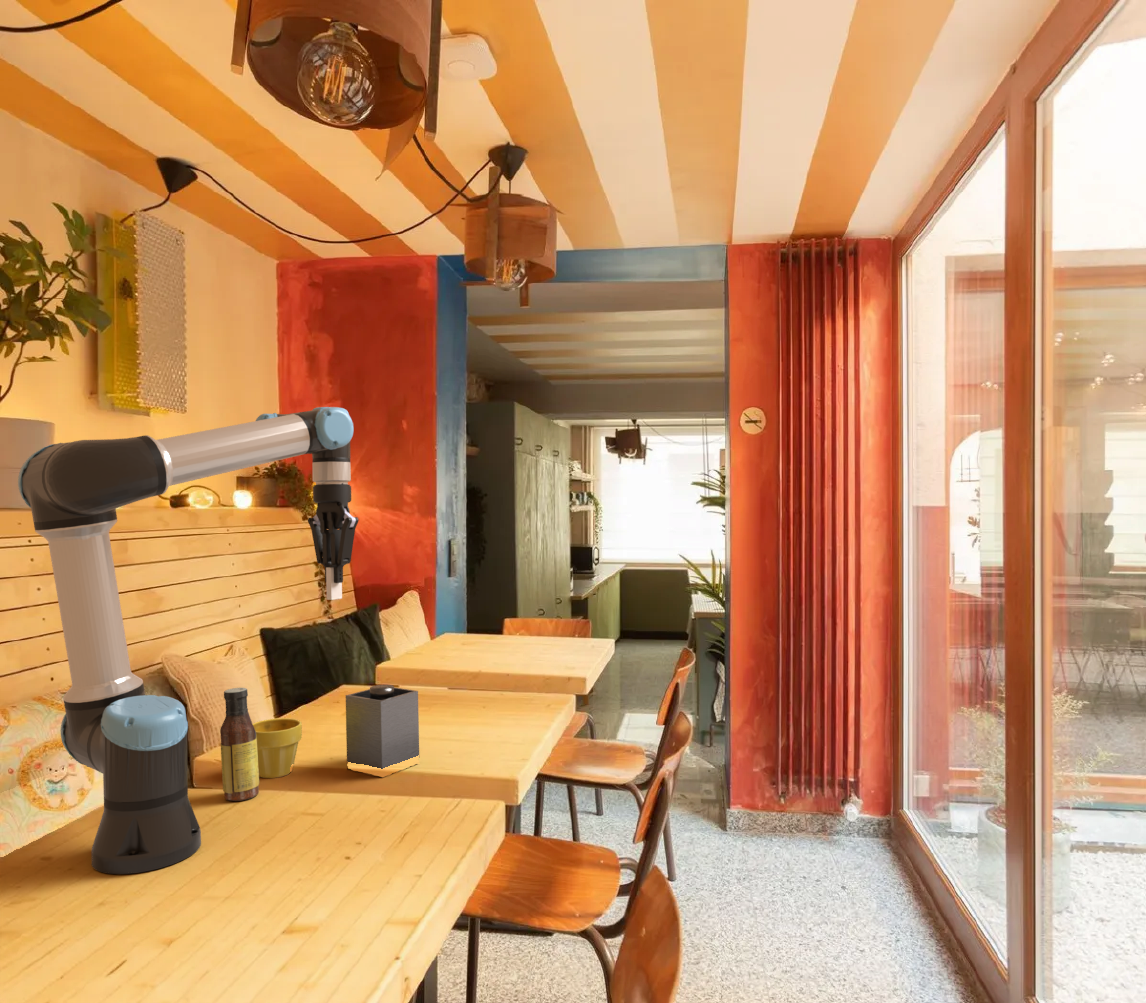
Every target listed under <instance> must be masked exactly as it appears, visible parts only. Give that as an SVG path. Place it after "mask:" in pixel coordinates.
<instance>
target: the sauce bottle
mask: <svg viewBox="0 0 1146 1003" xmlns="http://www.w3.org/2000/svg"><path fill="white" fill-rule="evenodd" d="M248 695H249V694H248V688H246V687H235V688H234V687H233V688H228V689H226V690H224V692H223V698H224V701H225V718H224V720H223V722H222V724H221V727H220V728H219V729H220V731H219V732H220V757H221V759H220V760H221V761H220V762H221V774H222V776H221V777H222V778H221V779H222V791H223V792H224V799H225V800H226V801H230V802H231V801H232V802H241V801H248V800H250V799H253V798H255V797H256V796H257V795H258V794H259V793H260V791H259V790H260V788H259V785H260V776H259V770H258V754H257V738H256V731H255V729H254V726H253V722H252V719H251V716H250V713H249V711H248V710H249V709H248Z"/></svg>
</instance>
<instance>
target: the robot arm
mask: <svg viewBox="0 0 1146 1003" xmlns="http://www.w3.org/2000/svg"><path fill="white" fill-rule="evenodd" d="M353 436H354V422H353V420H352V417H351V416H350V414H349V412H348V410H347V409H345V408H343V407H338V406H330V407H329V406H321V407H320V406H318V407H315V408H313V409H312V410H308V411H300V412H293V413H285V414H284V413H283V414H282V413H281V414H280V413H276V412H274V413H262V414H260V415H258V416H257V418H256V419H255V421H250V422H245V423H238V424H234V425H228V426H223V427H217V428H213V429H206V430H202V431H201V430H200V431H197V432H192V433H187V434H185V433H184V434H181V435H176V436H170V437H164V438H159V439H155V438H153V437H152V436H150V435H146V434H145V435H141V436H133V437H127V438H115V439H114V438H112V439H111V438H110V439H108V438H107V439H80V440H73V441H69V442H59V443H52V444H49V445H46V446H44V447H42V448H40V449H38V450H36V452H34V453H32V454H31V455H30V456H28V458H27V459H26V460H25V462H24V463H23V464H22V466H21V468H20V470H19V474H18V477H17V486H18V490H19V493H20V496H21V498H22V499H23V501H24V503H25V504H26V505H27V506H28V507H29V508H30V510H31V514H32V522H33V527H34V532H35V533H36V534H38V535H39V536H41V537H43V538H44V539H45V540H46V541H47V542H48V548H49V549H48V550H49V555H50V560H51V561H50V562H51V566H52V571H53V572H52V573H53V578H54V584H55V590H56V596H57V597H56V598H57V602H58V603H57V604H58V607H59V608H58V609H59V613H60V620H61V625H62V632H63V638H64V645H65V649H66V655H67V662H68V666H69V667H68V668H69V673H70V680H71V686H70V688H69V689H68V690H67V691H66V693H65V694H64V695H63V697H62V699H63V704H64V709H65V714H64V715H63V718H62V720H61V723H60V724H61V725H60V739H61V743H62V744H63V747H64V748H65V750H66V752H67V753H68V754H69V755H70V756H71V758H72V759H74V760H75V761H76V762H78V763H79V764H81V765H83V766H85V767H88V768H90V769H93V770H95V771H96V772H99V773H100V774H102V779H103V780H102V781H103V783H102V784H103V786H102V788H103V813H102V816H101V818H100V821H99V822H100V823H99V826H98V828H97V831H96V835H95V838H94V841H93V844H92V847H91V853H90V854H91V866H92V868H93V869H94V870H95V871H97V872H100V873H105V874H111V875H112V874H113V875H128V874H129V875H130V874H137V873H144V872H150V871H154V870H157V869H161V868H166V867H170V866H171V865H175V864H176V863H179V862H181V861H182V862H183V861H184V860H186V859H187V858H189V857H191V856H192V855H193V854H195V853H197V851H198V850H199V849H200V848H201V845H202V835H201V832H202V831H201V826H200V824H199V822H198V820H197V817H196V814H195V811H194V809H193V807H192V804H191V802H190V800H189V788H188V786H189V785H188V784H189V782H188V780H189V779H188V729H189V724H188V723H189V722H188V720H187V714H186V707H185V705H184V704H183V703H182V702H181V701H179V700H178V699H175V698H173V697H171V696H167V695H159V696H158V695H155V694H147V695H146V691H145V686H144V680H143V678H141V677H139V676H138V675H136V674H134V673H133V672H132V668H131V662H130V657H129V650H128V645H127V639H126V632H125V625H124V619H123V613H122V607H121V606H122V605H121V600H120V593H119V588H118V581H117V576H116V569H115V563H114V558H113V551H112V545H111V538H110V531H111V529H112V528H113V527H114V526H115V524H116V523H117V522H118V516H117V509H119V508H121V507H124V506H127V505H130V504H133V503H135V502H139V501H143V500H145V499H148V498H152V497H157V496H161V495H164V494H165V493H166V492H167V490H168V489H169V487H171V486H175V485H176V486H177V485H180V484H184V483H189V482H193V481H196V480H200V479H205V478H209V477H214V476H218V475H222V474H226V473H231V472H235V471H239V470H242V469H246V468H247V469H248V468H252V467H255V466H259V465H264V464H268V463H273V462H277V461H281V460H285V459H289V458H293V457H299V456H301V455H303V456H304V455H308V454H309V455H311V456H312V457H311V458H312V459H311V460H312V482H313V483H315V484H314V485H313V486H312V494H313V495H312V499H313V502H314V503H315V504H317V507H316V510H315V515H313V517H308V518H307V522H308V525H309V526H310V527H309V528H310V530H311V535H312V540H313V546H314V551H315V552H314V553H315V557H316V563H317V564H319V565H320V564H321V565H323V568H324V581H325V583H326V600H328V601H329V600H331V601H332V600H333V601H334V600H341V599H343V584H342V583H343V581H344V567H345V565H349V564H350V563H352V562H351V560H352V556H353V555H352V554H353V547H354V541H355V540H354V539H355V534H356V528H357V526H358V523H359V517H358V516H356V517H355V516H353V515H352V514H350V508H349V503H351V501H352V486H351V484H349V483H350V482H351V481H352V479H351V478H352V476H351V475H352V474H351V472H352V471H351V469H352V468H351V440H352V438H353Z"/></svg>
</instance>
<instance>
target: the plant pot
mask: <svg viewBox="0 0 1146 1003" xmlns="http://www.w3.org/2000/svg"><path fill="white" fill-rule="evenodd" d="M302 723H303V722H302V721H301V720H299V719H296V718H289V717H280V718H279V717H277V718H276V717H275V718H269V719H264V720H259V721H256V722H252V724H253V726H254V729H255V731H256V738H257V754H258V770H259V778H262V779H263V778H264V779H275V778H276V779H277V778H282V777H285V776H287V775H289V773H290V767H291V765H292V764H294V765H295V762H296V761H295V760H296V756H297V751H298V746H299V742H300V741H301V740H302V738H303V737H302V736H303V724H302ZM290 774H291V773H290Z"/></svg>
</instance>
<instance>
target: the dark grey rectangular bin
mask: <svg viewBox="0 0 1146 1003" xmlns="http://www.w3.org/2000/svg"><path fill="white" fill-rule="evenodd" d="M419 715H420V714H419V690H414V689H409V688H402V687H395V686H394V697H391V698H388V699H384V700H376V699H370V688H368V689H365V690H361V691H357V692H354V693H349V694H346V695H345V728H346V729H345V731H346V732H345V734H346V736H345V737H346V762H347V761H348V762H351V763H356V764H364V765H369V766H372V767H377V768H381V769H383V768H385V767H388V766H390V765H393V764H397V763H400V762H402V761H405V760H408V759H410V758H413V757H416V756H418V755H419V756H420V731H419V730H420V728H419V727H420V726H419V722H420V721H419Z"/></svg>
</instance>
